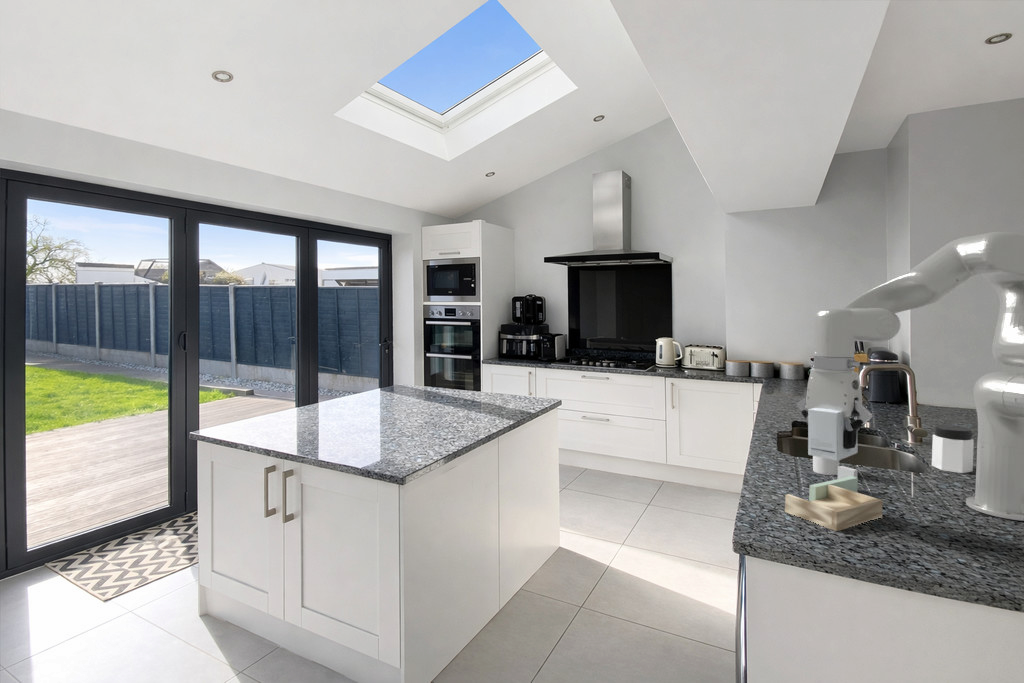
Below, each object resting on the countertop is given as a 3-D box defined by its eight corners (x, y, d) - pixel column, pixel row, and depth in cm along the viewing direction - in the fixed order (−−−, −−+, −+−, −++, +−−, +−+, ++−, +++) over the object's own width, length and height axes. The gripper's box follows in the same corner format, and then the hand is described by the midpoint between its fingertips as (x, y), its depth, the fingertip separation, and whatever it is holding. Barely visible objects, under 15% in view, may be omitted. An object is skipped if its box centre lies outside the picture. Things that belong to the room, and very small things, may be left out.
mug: (831, 477, 139) (832, 434, 138) (807, 471, 145) (807, 429, 144) (850, 471, 144) (851, 430, 144) (826, 465, 150) (827, 425, 149)
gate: (861, 491, 127) (861, 471, 127) (815, 502, 119) (815, 480, 119) (840, 485, 131) (841, 465, 131) (795, 495, 124) (796, 475, 124)
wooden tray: (882, 518, 111) (882, 500, 111) (836, 531, 104) (836, 512, 104) (829, 500, 121) (829, 484, 121) (784, 511, 114) (785, 494, 114)
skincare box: (826, 447, 119) (827, 403, 118) (858, 453, 113) (859, 407, 113) (805, 454, 112) (807, 408, 112) (838, 461, 107) (839, 412, 107)
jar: (979, 474, 141) (980, 432, 141) (946, 472, 143) (947, 430, 142) (957, 465, 150) (958, 425, 150) (926, 463, 152) (927, 424, 151)
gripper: (886, 367, 105) (883, 451, 106) (807, 361, 121) (805, 434, 122) (864, 369, 102) (862, 455, 103) (786, 362, 118) (784, 437, 119)
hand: (831, 443), depth 112 cm, fingers closed on skincare box, 7 cm apart
